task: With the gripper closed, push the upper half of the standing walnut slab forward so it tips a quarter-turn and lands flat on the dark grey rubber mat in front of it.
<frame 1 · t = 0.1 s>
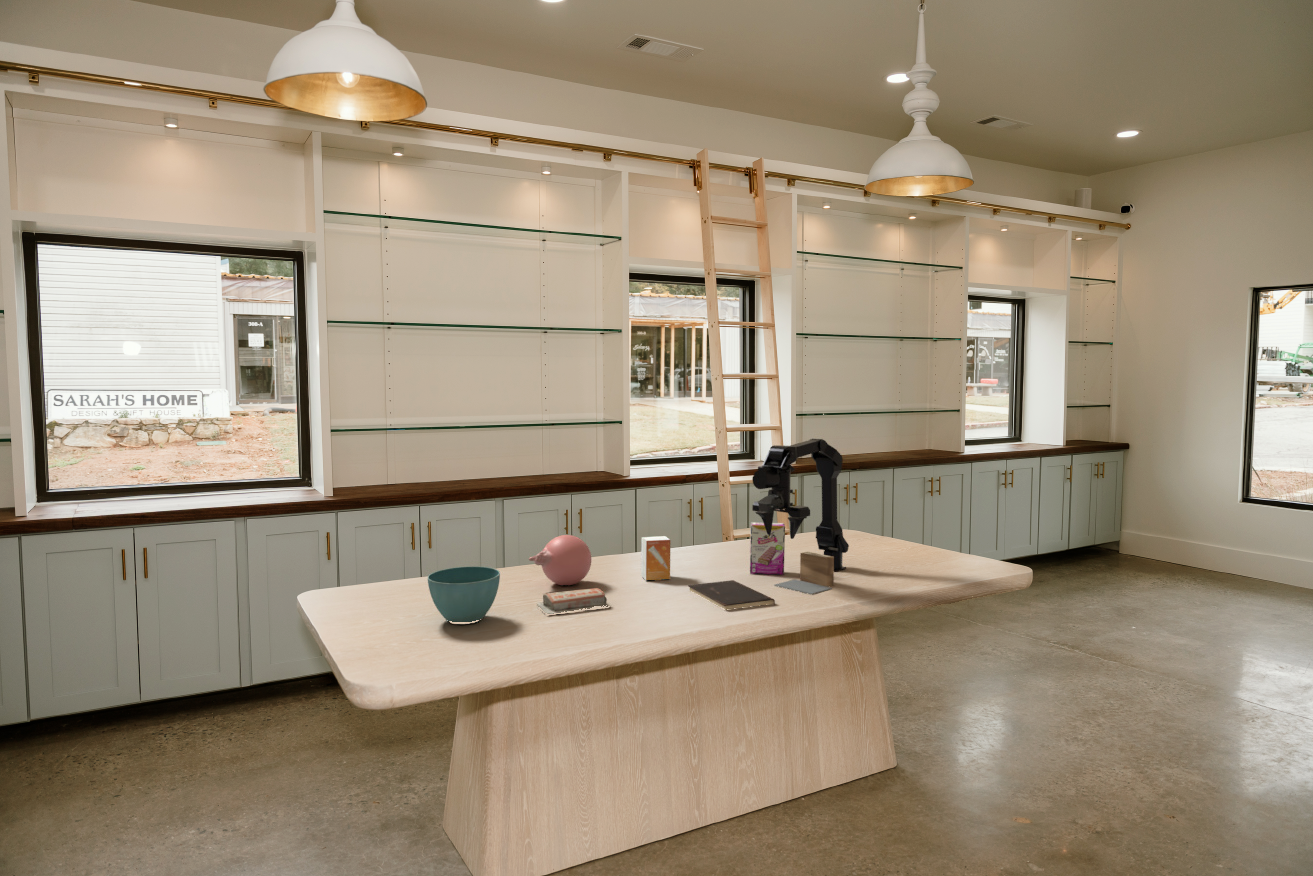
hand: (780, 536, 240), 15 cm above the table, tool pointing down, fingers open, 9 cm apart
candy bar box: (767, 573, 254), on the table
hardcover book: (730, 600, 224), on the table
balloon: (559, 586, 237), on the table
teal bowl: (464, 621, 201), on the table
packaged product: (572, 610, 213), on the table
walnut slab: (816, 583, 240), on the table
small box: (655, 579, 246), on the table
grey rubber mat: (802, 587, 236), on the table
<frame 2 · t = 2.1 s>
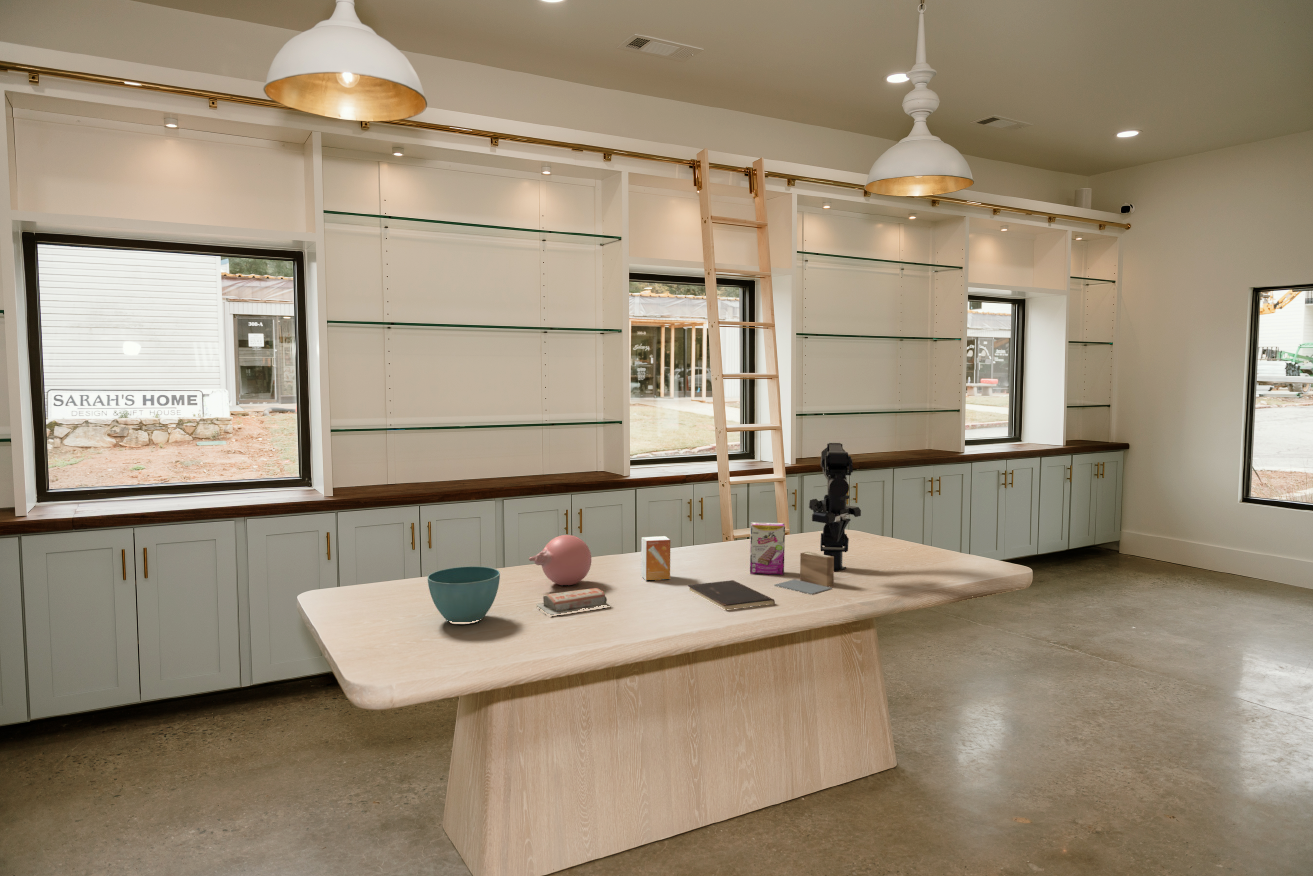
hand: (836, 541, 242), 13 cm above the table, tool pointing down, fingers closed
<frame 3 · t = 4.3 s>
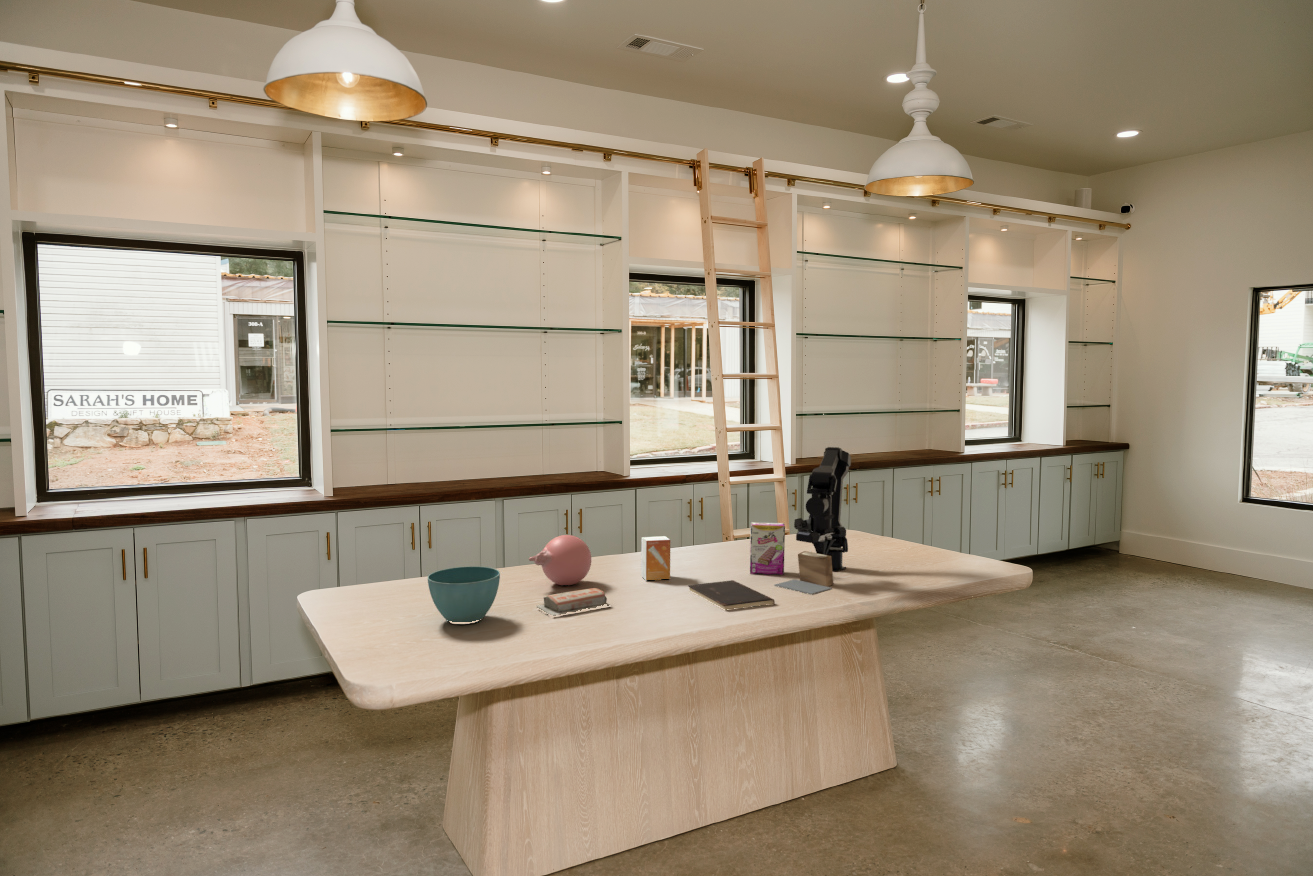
hand: (821, 561, 241), 7 cm above the table, tool pointing down, fingers closed
walnut slab: (816, 582, 240), on the table, tilted 9°
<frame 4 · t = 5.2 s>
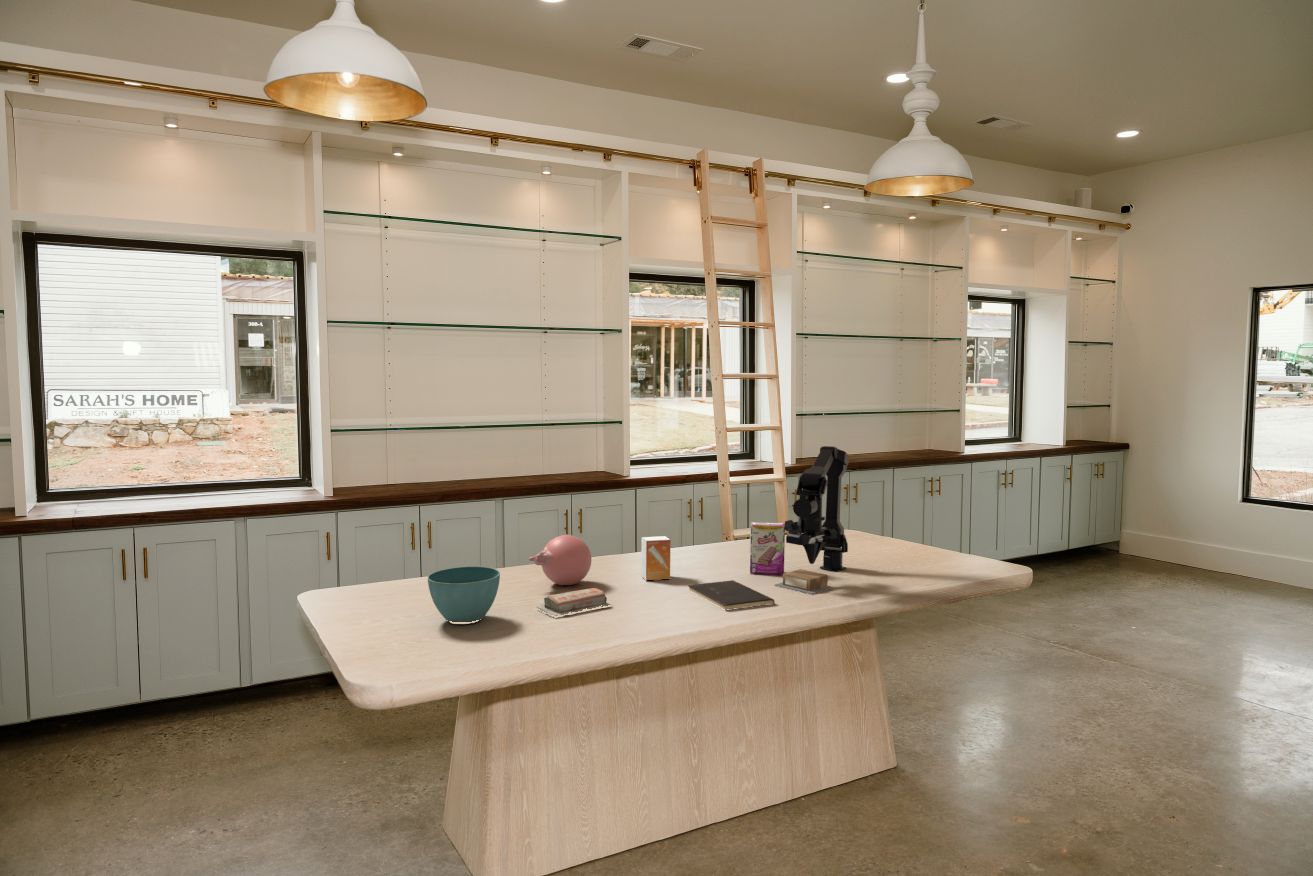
hand: (811, 563, 238), 7 cm above the table, tool pointing down, fingers closed
walnut slab: (814, 577, 239), point 2 cm above the table, tilted 90°, touching grey rubber mat
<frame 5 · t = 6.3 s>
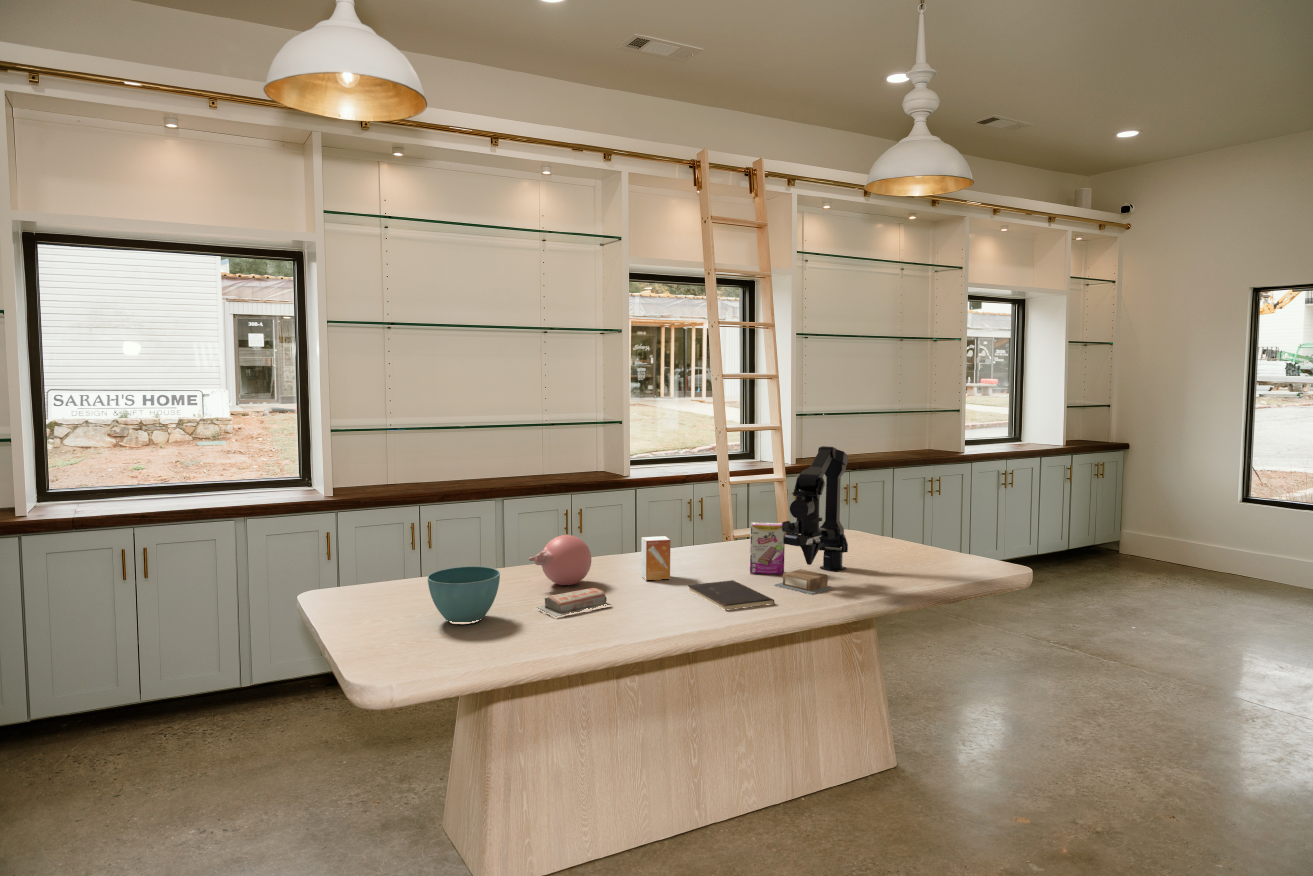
hand: (809, 564, 237), 6 cm above the table, tool pointing down, fingers closed
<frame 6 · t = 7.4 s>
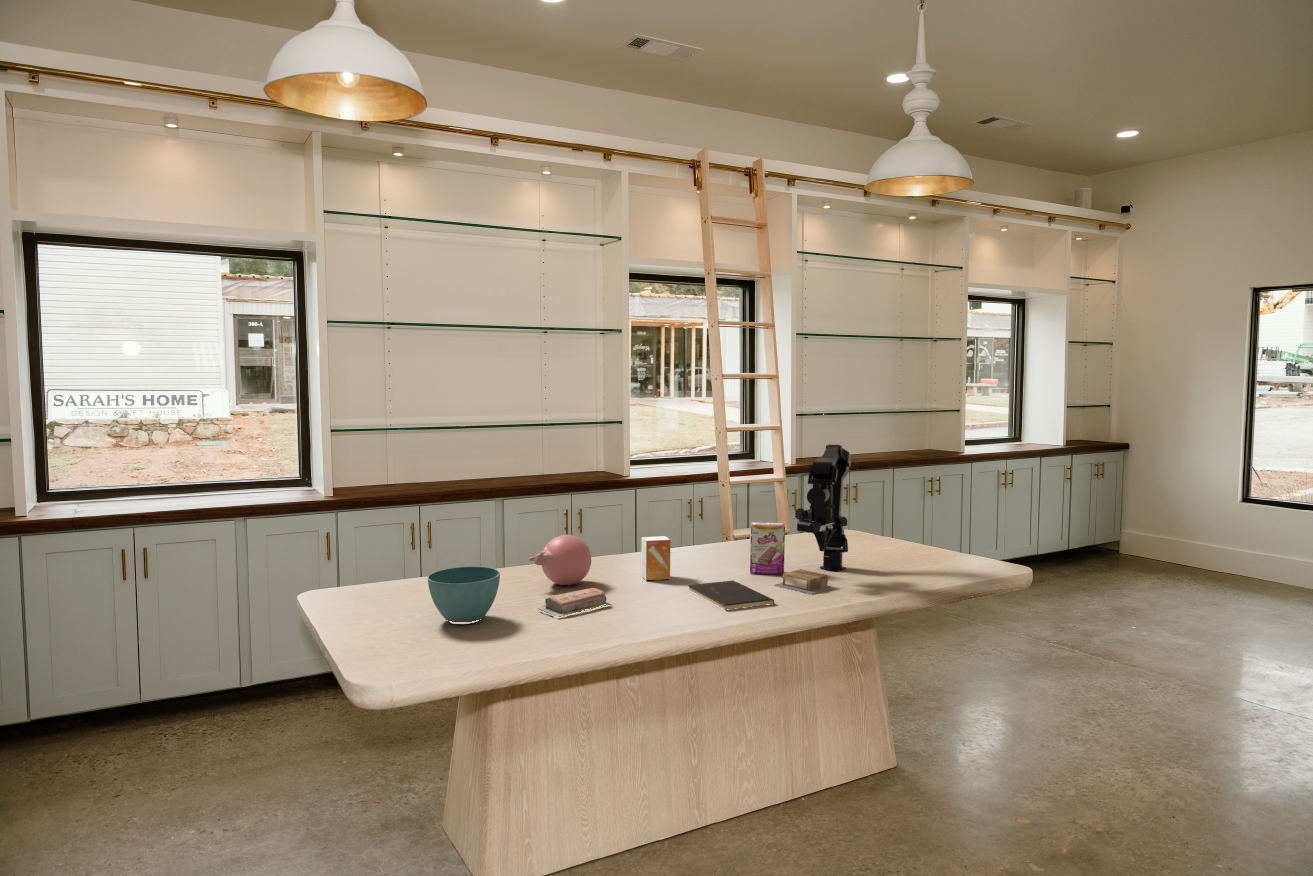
hand: (822, 551, 242), 10 cm above the table, tool pointing down, fingers closed
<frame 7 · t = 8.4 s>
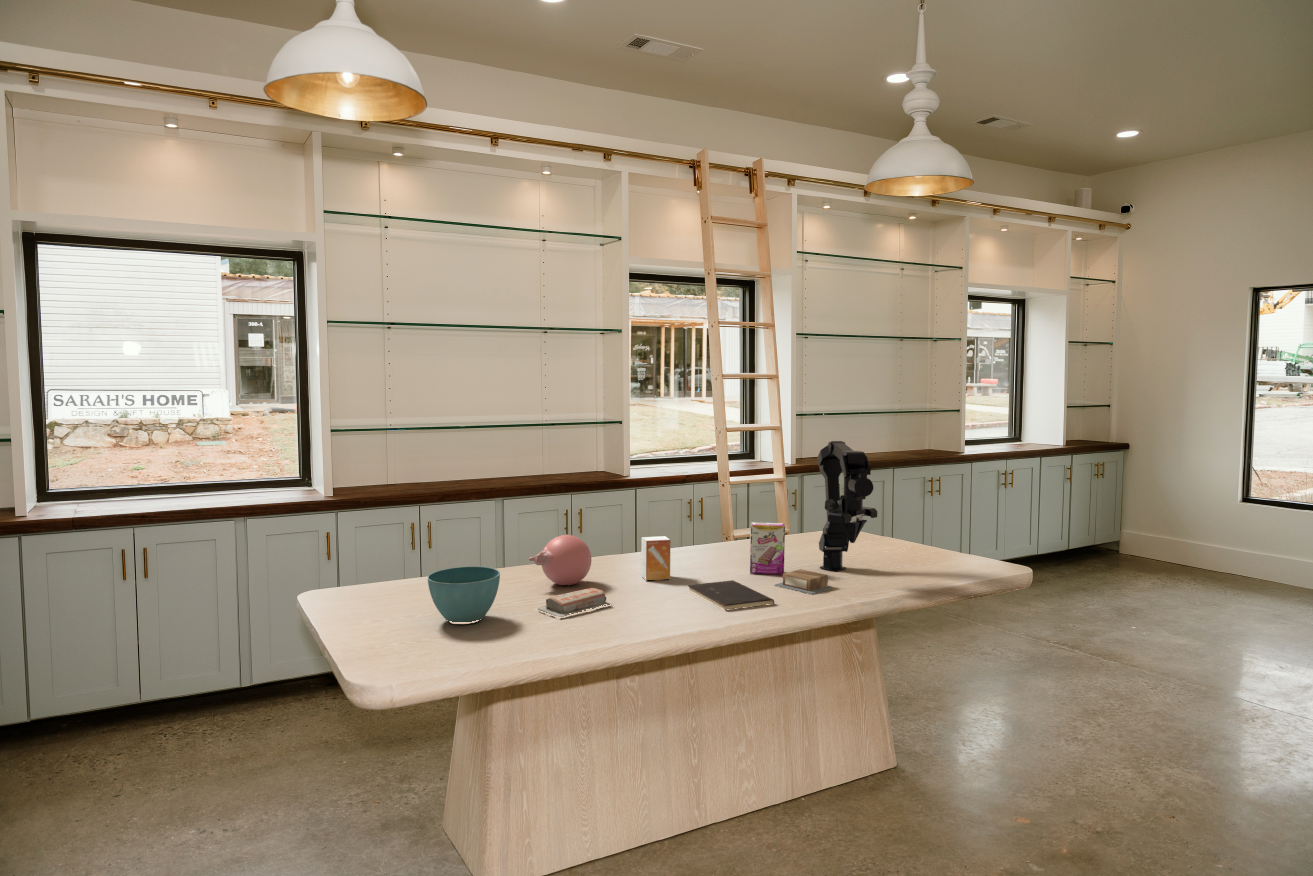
hand: (852, 542, 238), 13 cm above the table, tool pointing down, fingers closed
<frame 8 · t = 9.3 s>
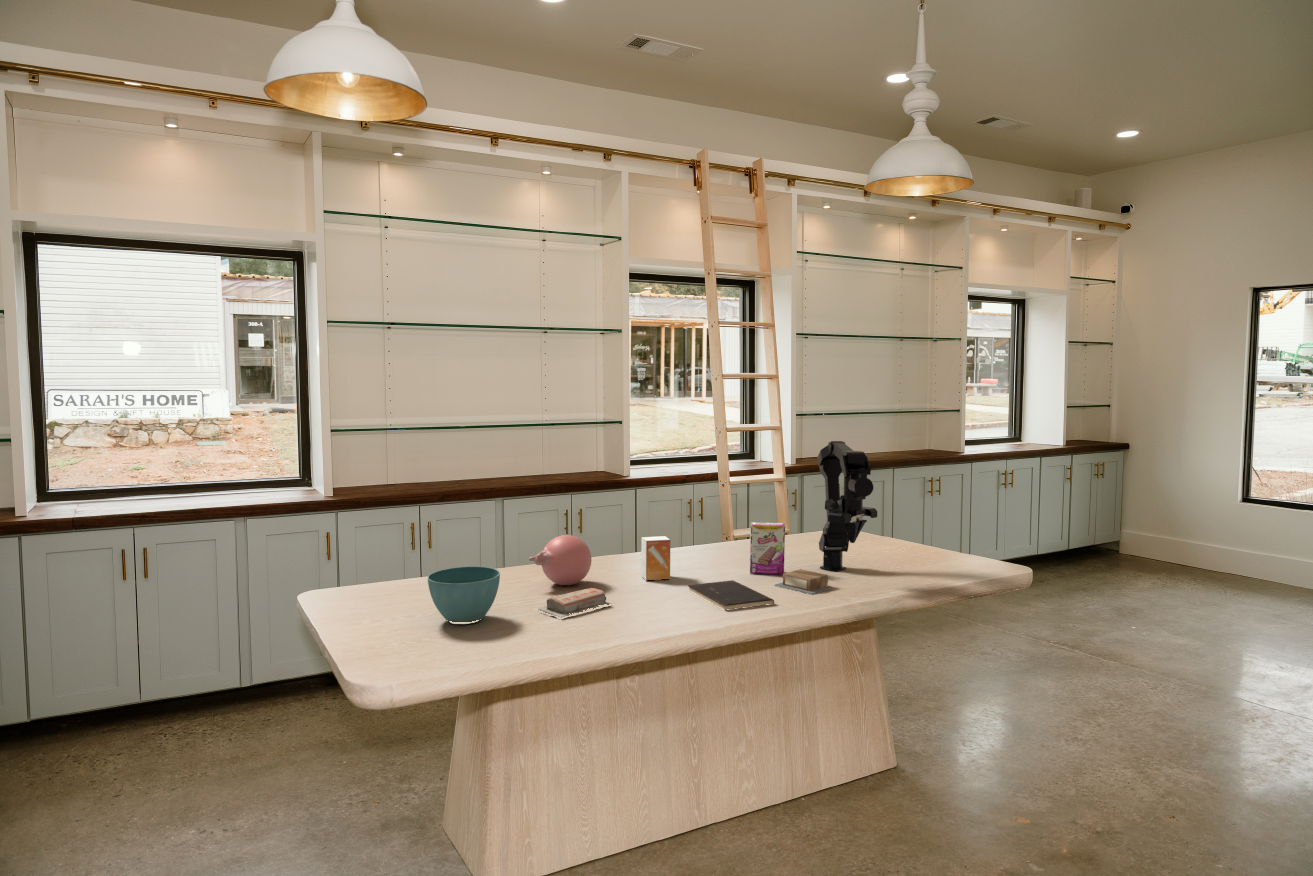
hand: (852, 542, 238), 13 cm above the table, tool pointing down, fingers closed
at the end: walnut slab tilted 90°; walnut slab inside the target area (5.2 cm from its centre), point 2.0 cm above the table; the gripper is holding nothing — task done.
